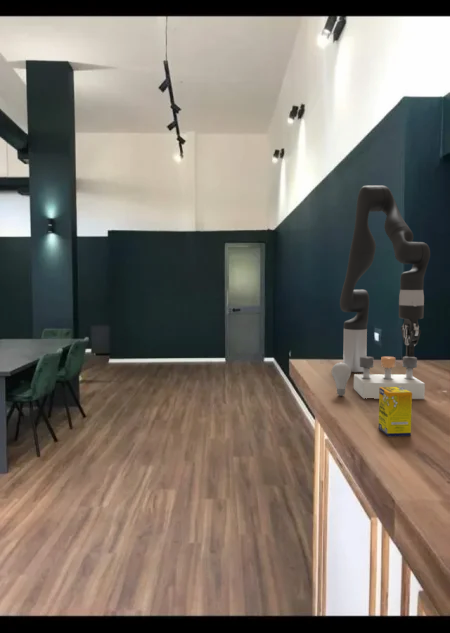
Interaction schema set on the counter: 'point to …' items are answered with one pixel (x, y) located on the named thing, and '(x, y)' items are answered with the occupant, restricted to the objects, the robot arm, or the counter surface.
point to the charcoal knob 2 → (409, 366)
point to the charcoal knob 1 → (366, 365)
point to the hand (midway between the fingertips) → (409, 356)
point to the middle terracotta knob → (388, 366)
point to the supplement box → (395, 411)
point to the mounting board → (387, 385)
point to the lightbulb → (341, 376)
